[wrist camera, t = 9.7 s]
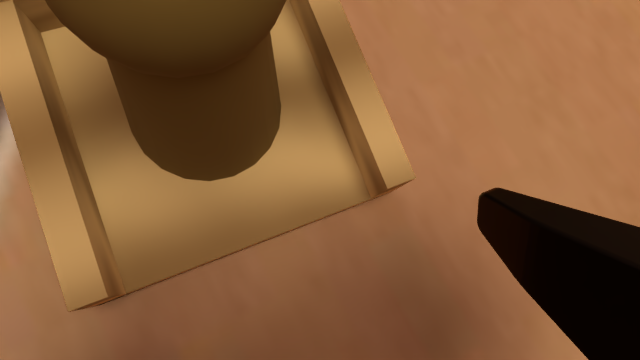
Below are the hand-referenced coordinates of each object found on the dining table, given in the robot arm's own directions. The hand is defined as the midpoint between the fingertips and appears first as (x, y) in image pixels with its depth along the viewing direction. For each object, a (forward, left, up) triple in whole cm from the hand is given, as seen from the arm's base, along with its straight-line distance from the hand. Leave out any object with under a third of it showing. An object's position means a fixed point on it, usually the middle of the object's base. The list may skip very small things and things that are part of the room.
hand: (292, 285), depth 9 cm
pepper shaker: (+4, +6, -9) cm, 11 cm away
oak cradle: (+4, +6, -9) cm, 12 cm away
